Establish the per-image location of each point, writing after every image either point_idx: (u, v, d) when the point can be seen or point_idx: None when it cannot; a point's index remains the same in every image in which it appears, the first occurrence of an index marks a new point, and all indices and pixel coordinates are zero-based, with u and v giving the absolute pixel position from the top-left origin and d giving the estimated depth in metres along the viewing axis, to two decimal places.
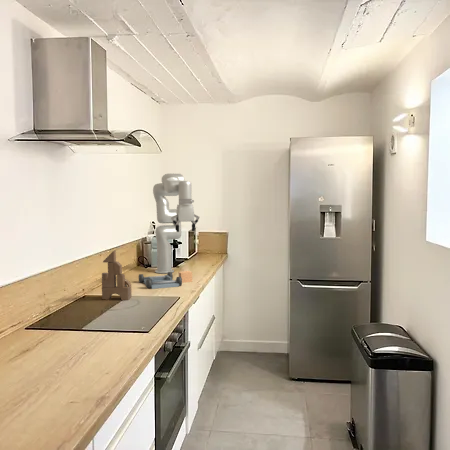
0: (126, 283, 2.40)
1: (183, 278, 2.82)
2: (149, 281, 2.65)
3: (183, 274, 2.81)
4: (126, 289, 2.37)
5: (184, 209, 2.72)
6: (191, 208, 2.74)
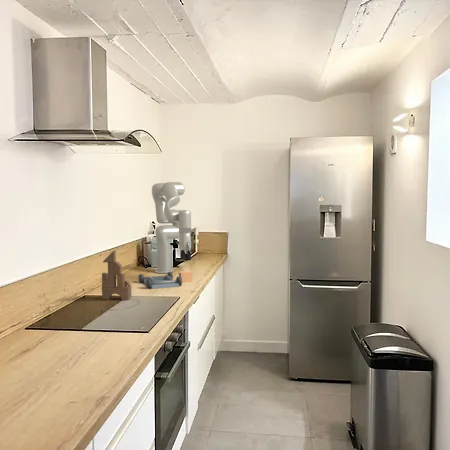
0: (126, 283, 2.40)
1: (183, 278, 2.82)
2: (149, 281, 2.65)
3: (183, 274, 2.81)
4: (126, 289, 2.37)
5: None
6: None
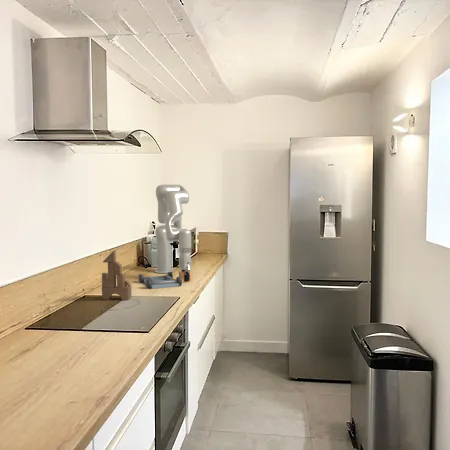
0: (126, 283, 2.40)
1: (183, 278, 2.82)
2: (149, 281, 2.65)
3: (183, 274, 2.81)
4: (126, 289, 2.37)
5: None
6: None
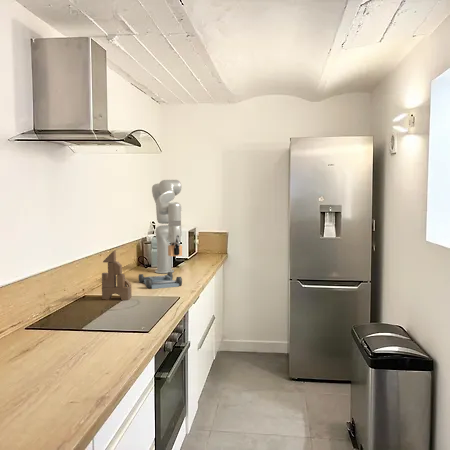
0: (126, 283, 2.40)
1: (173, 251, 2.78)
2: (149, 281, 2.65)
3: (173, 247, 2.78)
4: (126, 289, 2.37)
5: None
6: None
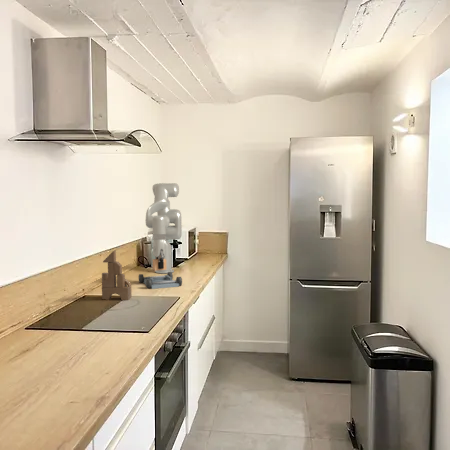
0: (126, 283, 2.40)
1: (157, 265, 2.74)
2: (149, 281, 2.65)
3: (157, 261, 2.74)
4: (126, 289, 2.37)
5: None
6: None
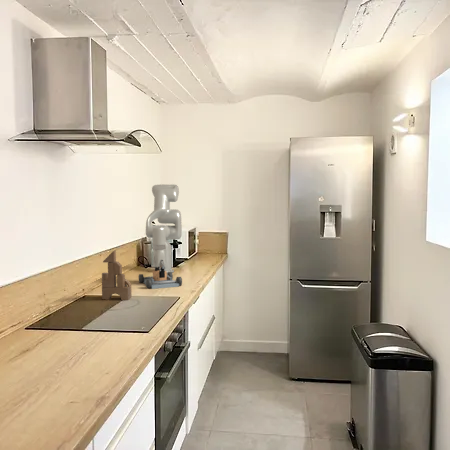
0: (126, 283, 2.40)
1: (157, 277, 2.75)
2: (149, 281, 2.65)
3: (157, 273, 2.75)
4: (126, 289, 2.37)
5: None
6: None
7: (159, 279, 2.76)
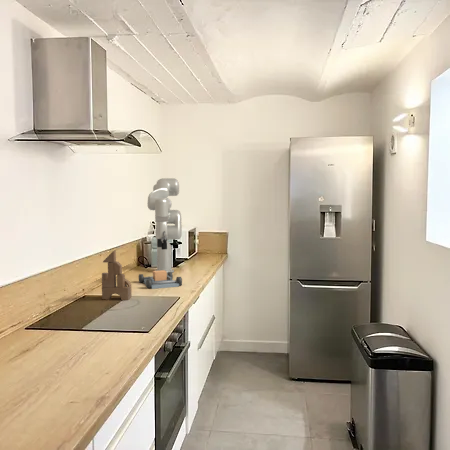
0: (126, 283, 2.40)
1: (157, 277, 2.75)
2: (149, 281, 2.65)
3: (157, 273, 2.75)
4: (126, 289, 2.37)
5: None
6: None
7: (159, 279, 2.76)
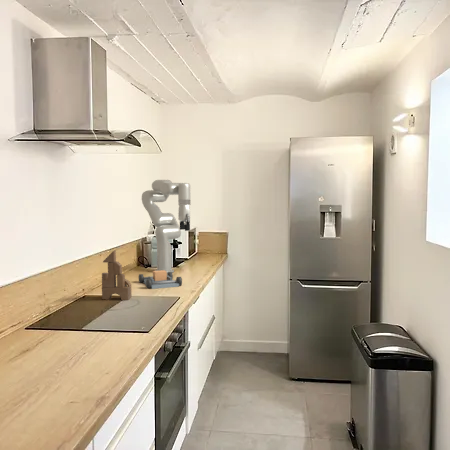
0: (126, 283, 2.40)
1: (157, 277, 2.75)
2: (149, 281, 2.65)
3: (157, 273, 2.75)
4: (126, 289, 2.37)
5: None
6: None
7: (159, 279, 2.76)
